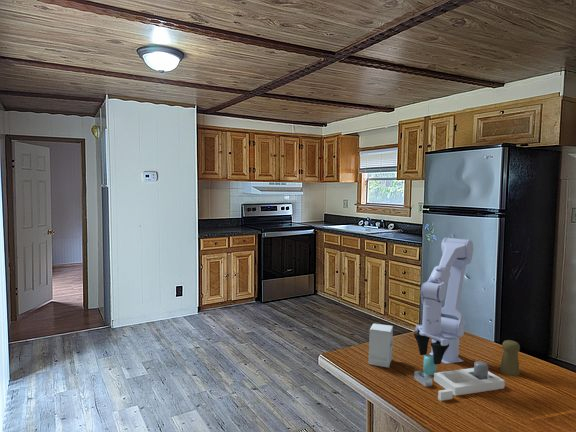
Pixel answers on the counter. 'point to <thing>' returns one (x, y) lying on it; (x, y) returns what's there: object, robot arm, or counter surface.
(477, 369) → the grey rounded block
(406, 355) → the counter surface
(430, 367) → the teal rounded block
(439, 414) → the counter surface
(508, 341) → the cork
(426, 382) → the bar
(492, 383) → the housing
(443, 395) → the block
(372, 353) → the supplement box
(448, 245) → the robot arm
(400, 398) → the counter surface
